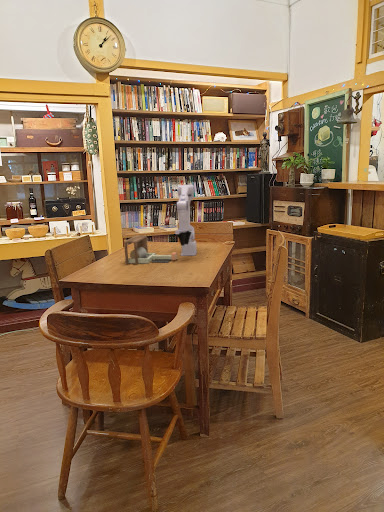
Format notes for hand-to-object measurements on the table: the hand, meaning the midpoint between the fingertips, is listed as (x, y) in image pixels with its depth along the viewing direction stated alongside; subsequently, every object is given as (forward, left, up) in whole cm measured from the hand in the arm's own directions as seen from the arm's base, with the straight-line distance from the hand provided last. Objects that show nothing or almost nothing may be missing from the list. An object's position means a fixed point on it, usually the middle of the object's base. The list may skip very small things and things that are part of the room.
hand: (184, 244), depth 213 cm
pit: (+14, 0, -9) cm, 17 cm away
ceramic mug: (+27, 0, -10) cm, 29 cm away
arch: (+29, 0, -9) cm, 31 cm away
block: (+20, 0, -9) cm, 22 cm away
